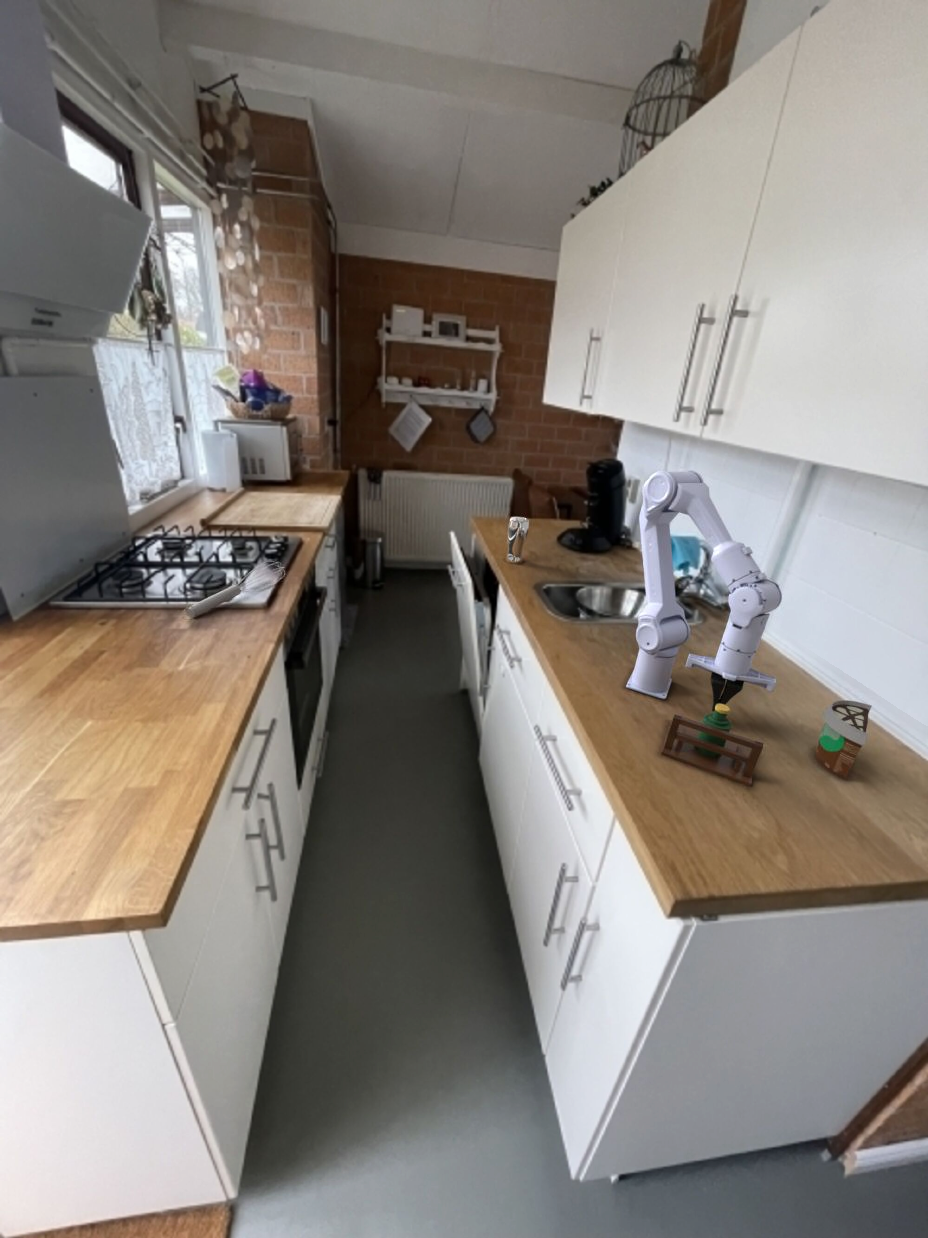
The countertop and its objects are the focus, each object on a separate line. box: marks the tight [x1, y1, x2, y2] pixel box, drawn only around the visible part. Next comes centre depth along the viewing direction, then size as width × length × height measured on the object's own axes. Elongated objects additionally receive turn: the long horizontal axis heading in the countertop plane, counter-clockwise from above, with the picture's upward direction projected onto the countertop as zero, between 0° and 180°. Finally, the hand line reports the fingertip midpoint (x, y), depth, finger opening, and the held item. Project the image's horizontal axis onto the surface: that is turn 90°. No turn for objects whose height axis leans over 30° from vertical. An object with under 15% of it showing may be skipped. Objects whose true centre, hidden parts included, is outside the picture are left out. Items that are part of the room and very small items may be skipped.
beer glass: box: [504, 516, 530, 564], centre depth 177 cm, size 7×7×15 cm
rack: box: [660, 713, 764, 787], centre depth 88 cm, size 11×14×7 cm
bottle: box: [695, 704, 733, 758], centre depth 87 cm, size 4×4×9 cm
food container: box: [813, 699, 873, 780], centre depth 89 cm, size 12×6×10 cm, turn 141°
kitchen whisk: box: [181, 560, 286, 621], centre depth 130 cm, size 6×34×6 cm, turn 159°
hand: (716, 709), depth 96 cm, fingers closed
